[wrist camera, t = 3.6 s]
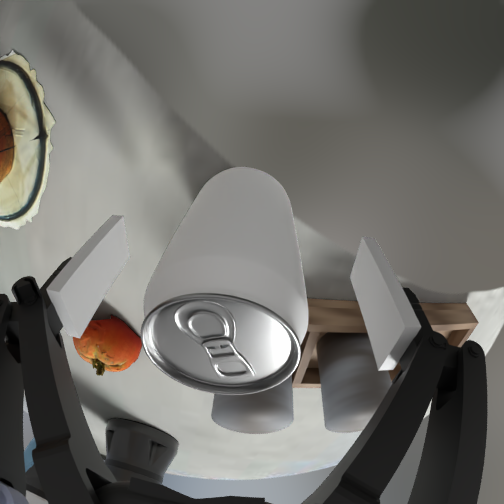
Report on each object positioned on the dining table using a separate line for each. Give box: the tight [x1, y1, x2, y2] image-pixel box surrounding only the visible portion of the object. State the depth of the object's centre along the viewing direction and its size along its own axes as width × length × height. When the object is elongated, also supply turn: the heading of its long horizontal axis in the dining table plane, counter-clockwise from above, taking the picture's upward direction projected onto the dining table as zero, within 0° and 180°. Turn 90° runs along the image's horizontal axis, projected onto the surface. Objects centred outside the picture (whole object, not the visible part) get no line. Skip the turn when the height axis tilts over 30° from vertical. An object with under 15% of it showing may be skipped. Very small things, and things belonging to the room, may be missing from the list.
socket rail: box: [211, 298, 479, 434], centre depth 22 cm, size 27×9×9 cm, turn 86°
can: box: [141, 167, 308, 395], centre depth 14 cm, size 6×6×12 cm
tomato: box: [73, 315, 142, 375], centre depth 27 cm, size 8×7×7 cm
